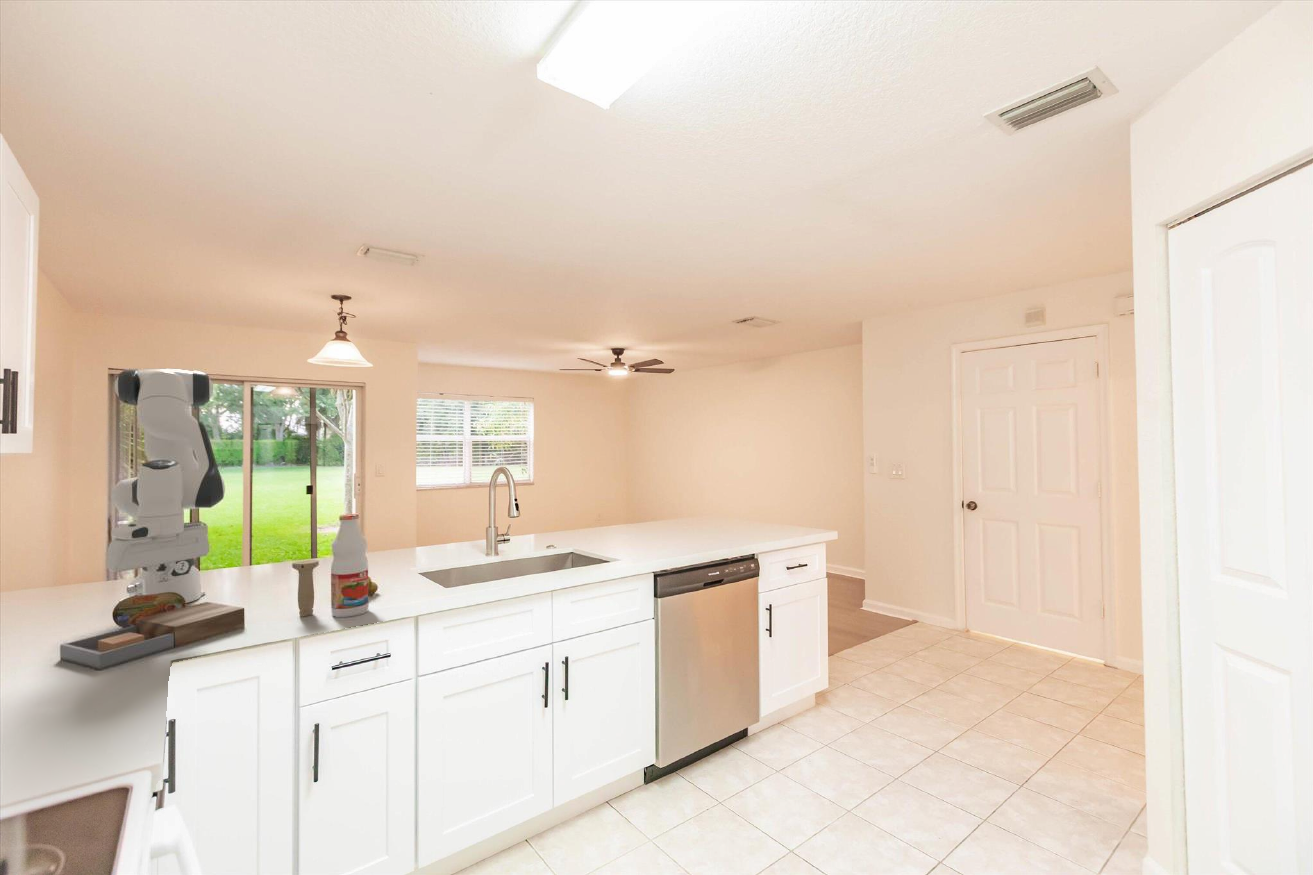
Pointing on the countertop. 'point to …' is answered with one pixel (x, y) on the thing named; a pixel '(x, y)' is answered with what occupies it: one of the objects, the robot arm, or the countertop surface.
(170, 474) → the robot arm
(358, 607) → the fruit juice
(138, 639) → the terracotta block
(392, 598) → the countertop surface
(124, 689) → the countertop surface
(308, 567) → the handle
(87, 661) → the box
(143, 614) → the tin
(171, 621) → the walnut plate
